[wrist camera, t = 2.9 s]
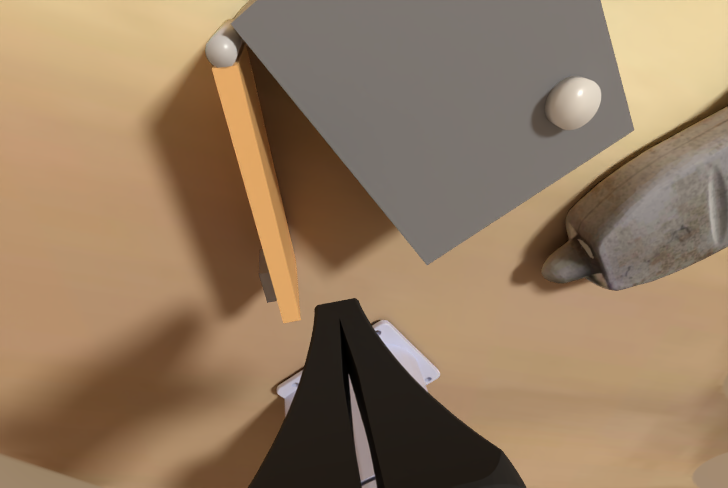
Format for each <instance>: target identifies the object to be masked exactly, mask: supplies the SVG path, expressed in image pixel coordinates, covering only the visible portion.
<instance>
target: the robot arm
mask: <svg viewBox="0 0 728 488" xmlns="http://www.w3.org/2000/svg"><path fill="white" fill-rule="evenodd" d="M377 330H379V331H377ZM376 331H377V332H376ZM439 376H440V372H439V370H438V369H437V368H436V367H435V366H434V365H433V364H432V363H431V362H430V361H429V360H428V359H427V358H426V357H425V356H424V355H423V354H422V353H421V352H420V351H419V350H418V349H417V348H416V347H415V346H413V345H412V344H411V343H410V342H409V341H408V340H407V339H406V338H405V337H404V336H403V335H402V334H401V333H400V332H399V331H398V330H397V329H396V328H395V327H394V326H393V325H392V324H391V323H390V322H389V321H387V320H381V321H379V322H377V323H375V324H374V325H371V323H370V322H369V320H368V319H367V317H366V315H365V313H364V312H363V310H362V308H361V306H360V303H359V301H358V300H357V299H355V298H353V299H348V300H342V301H337V302H332V303H326V304H321V305H317V306H316V307H315V316H314V326H313V332H312V337H311V342H310V346H309V350H308V354H307V358H306V362H305V365H304V369H303V370H302V371H300V372H299V373H297V374H295V375H294V376H292V377H291V378H289V379H288V380H286V381H284V382H283V383H281V384H280V385H278V386H277V394H278V395H280V396H281V397H283V398H284V399H285V419H284V422H283V424H282V426H281V428H280V430H279V432H278V435H277V437H276V439H275V441H274V443H273V445H272V446H271V448H270V450H269V452H268V454H267V456H266V457H265V459H264V461H263V463H262V465H261V466H260V468H259V470H258V472H257V474H256V475H255V477H254V479H253V480H252V482H251V484H250V485H249V487H248V488H526V486H525V484H524V482H523V480H522V479H521V477H520V475H519V474H518V472H517V471H516V469H515V468H514V466H513V465H512V463H511V462H510V460H509V459H508V458H507V456H506V455H505V454H504V452H503V451H502V450H501V449H499V448H498V447H496V446H495V445H493V444H492V443H491V442H489V441H488V440H486V439H485V438H483V437H482V436H481V435H479V434H478V433H476V432H475V431H474V430H472V429H471V428H470V427H468V426H467V425H466V424H465V423H463V422H462V421H461V420H459V419H458V418H457V417H456V416H454V415H453V414H452V413H451V412H450V411H449V410H447V409H446V408H445V407H444V406H443V405H442V404H440V403H439V402H438V401H437V400H436V399H435V398H433V397H432V396H431V395H430V394H429V393H428V390H427V388H426V385H427V384H429V383H431V382H432V381H434V380H436V379H437V378H438V377H439Z"/></svg>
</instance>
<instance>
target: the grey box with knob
mask: <svg viewBox="0 0 728 488" xmlns="http://www.w3.org/2000/svg"><path fill="white" fill-rule="evenodd" d="M231 25H232V26H233V28H234V29H235V30H236V31H237V32H238V34H239V35H240V36H241V37H242V39H243V40H244V41H245V42H246V43H247V45H248V46H249V47H250V48H251V50H252V51H253V52H254V53H255V55H256V56H257V57H258V58H259V59H260V61H261V62H262V63H263V64H264V66H265V67H266V68H267V69H268V71H269V72H270V73H271V74H272V75H273V77H274V78H275V79H276V80H277V82H278V83H279V84H280V85H281V86H282V88H283V89H284V90H285V91H286V93H287V94H288V95H289V96H290V98H291V99H292V100H293V101H294V102H295V104H296V105H297V106H298V107H299V109H300V110H301V111H302V112H303V114H304V115H305V116H306V117H307V118H308V120H309V121H310V122H311V123H312V125H313V126H314V127H315V128H316V129H317V131H318V132H319V133H320V134H321V136H322V137H323V138H324V139H325V141H326V142H327V143H328V144H329V145H330V147H331V148H332V149H333V150H334V152H335V153H336V154H337V155H338V156H339V158H340V159H341V160H342V161H343V163H344V164H345V165H346V166H347V168H348V169H349V170H350V171H351V172H352V174H353V175H354V176H355V177H356V179H357V180H358V181H359V182H360V184H361V185H362V186H363V187H364V188H365V190H366V191H367V192H368V193H369V195H370V196H371V197H372V198H373V199H374V201H375V202H376V203H377V204H378V206H379V207H380V208H381V209H382V211H383V212H384V213H385V214H386V215H387V217H388V218H389V219H390V220H391V222H392V223H393V224H394V225H395V227H396V228H397V229H398V230H399V231H400V233H401V234H402V235H403V236H404V238H405V239H406V240H407V241H408V242H409V244H410V245H411V246H412V247H413V249H414V250H415V251H416V252H417V254H418V255H419V256H420V257H421V258H422V260H423V261H424V262H425V263H426V265H428V264H430V263H431V262H433V261H434V260H436V259H437V258H439V257H441V256H442V255H444V254H445V253H447V252H448V251H450V250H451V249H453V248H454V247H456V246H457V245H459V244H460V243H462V242H464V241H465V240H467V239H468V238H470V237H471V236H473V235H474V234H476V233H477V232H479V231H480V230H482V229H483V228H485V227H487V226H488V225H490V224H491V223H493V222H494V221H496V220H497V219H499V218H500V217H502V216H503V215H505V214H507V213H508V212H510V211H511V210H513V209H514V208H516V207H517V206H519V205H520V204H522V203H523V202H525V201H526V200H528V199H530V198H531V197H533V196H534V195H536V194H537V193H539V192H540V191H542V190H543V189H545V188H546V187H548V186H549V185H551V184H553V183H554V182H556V181H557V180H559V179H560V178H562V177H563V176H565V175H566V174H568V173H569V172H571V171H572V170H574V169H576V168H577V167H579V166H580V165H582V164H583V163H585V162H586V161H588V160H589V159H591V158H592V157H594V156H595V155H597V154H599V153H600V152H602V151H603V150H605V149H606V148H608V147H609V146H611V145H612V144H614V143H615V142H617V141H618V140H620V139H622V138H623V137H625V136H626V135H628V134H629V133H631V132H632V131H634V127H633V123H632V120H631V116H630V112H629V108H628V104H627V101H626V97H625V93H624V89H623V85H622V81H621V78H620V74H619V70H618V66H617V62H616V58H615V55H614V51H613V47H612V43H611V39H610V35H609V32H608V28H607V24H606V20H605V16H604V12H603V9H602V5H601V1H600V0H250V1H249V2H248V3H246V4H245V5H244V6H243V7H242V8H241V9H240V11H239V12H238V14H237V15H236V17H235V18H234V19H233V21H232V22H231Z"/></svg>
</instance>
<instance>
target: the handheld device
mask: <svg viewBox="0 0 728 488" xmlns="http://www.w3.org/2000/svg"><path fill="white" fill-rule="evenodd" d="M565 224H566V229H567V233H568V237H569V240H568V241H567V243H565V244H564V245H563V246H561V247H560V248H559V249H557V250H556V251H555V252H553V253H552V254H551V255H550V256H549V257H548V259H547V260H546V261H545V262H544V264H543V267H542V270H541V274H542V275H543V277H544V278H545V279H547V280H549V281H551V282H555V283H567V282H571V281H574V280H578V279H582V278H585V279H587V280H589V281H590V282H592V283H594V284H596V285H598V286H600V287H602V288H605V289H608V290H615V291H618V290H622V289H626V288H629V287H633V286H636V285H640V284H644V283H648V282H652V281H654V280H657V279H660V278H662V277H665V276H667V275H670V274H672V273H675V272H677V271H679V270H681V269H684V268H686V267H688V266H690V265H692V264H694V263H696V262H699V261H701V260H703V259H705V258H707V257H709V256H711V255H713V254H714V253H716V252H718V251H720V250H722V249H724V248H726V247H728V106H727V107H725V108H724V109H722V110H720V111H718V112H716V113H714V114H712V115H711V116H709V117H707V118H705V119H703V120H701V121H699V122H697V123H696V124H694V125H692V126H690V127H688V128H686V129H685V130H683V131H681V132H679V133H677V134H676V135H674V136H672V137H670V138H668V139H666V140H665V141H663V142H661V143H659V144H657V145H656V146H654V147H652V148H650V149H648V150H646V151H645V152H643V153H642V154H640V155H639V156H637V157H636V158H634V159H633V160H631V161H629V162H628V163H626V164H625V165H623V166H622V167H621V168H619V169H618V170H616V171H615V172H613V173H612V174H611V175H609V176H608V177H607V178H605V179H604V180H603V181H601V182H600V183H599V184H598V185H596V186H595V187H594V188H593V189H592V190H591V191H590V192H589V193H587V194H586V195H585V196H584V197H583V198H582V199H581V200H579V201H578V202H577V203H576V204H575V205H574V206H573V207H572V208H571V209H570V210H569V212H568V214H567V216H566V221H565Z"/></svg>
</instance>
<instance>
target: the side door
mask: <svg viewBox="0 0 728 488" xmlns="http://www.w3.org/2000/svg"><path fill="white" fill-rule="evenodd" d="M232 21H233V19H228V20H226V21H225V22H224V23H223V24H222V25H221V26H220V27H219V29H218V30H217V31H216V32H215V34H214V35H213V36H212V37H211V39H210V40H209V41H208V42H207V44H206V48H205V53H206V56H207V59H208V60H209V62H210V63H211V64H212V65H213V67H212V72H213V75H214V79H215V82H216V86H217V89H218V93H219V97H220V100H221V104H222V107H223V111H224V114H225V118H226V121H227V125H228V128H229V132H230V135H231V139H232V143H233V146H234V150H235V153H236V157H237V160H238V164H239V167H240V171H241V174H242V178H243V181H244V185H245V189H246V192H247V196H248V199H249V203H250V206H251V210H252V213H253V217H254V220H255V224H256V227H257V231H258V234H259V238H260V242H261V245H262V249H260V256H259V277H260V280H261V283H262V287H263V290H264V293H265V296H266V300H267V303H268V302H273V301H277V302H278V305H279V309H280V312H281V316H282V319H283V323H288V322H293V321H298V320H301V318H300V305H299V292H298V280H297V267H296V259H295V255H294V251H293V246H292V242H291V238H290V233H289V229H288V224H287V220H286V216H285V211H284V207H283V203H282V198H281V194H280V190H279V185H278V181H277V176H276V172H275V168H274V163H273V159H272V155H271V150H270V146H269V142H268V137H267V133H266V129H265V124H264V120H263V115H262V111H261V107H260V102H259V98H258V94H257V89H256V85H255V81H254V76H253V72H252V67H251V63H250V59H249V54H248V50H247V46H246V42H243V39H242V37H241V36H240V35H239V34H238V32H237V31H236V30H235V29H234V28H233V26H232V25H231V22H232Z"/></svg>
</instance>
